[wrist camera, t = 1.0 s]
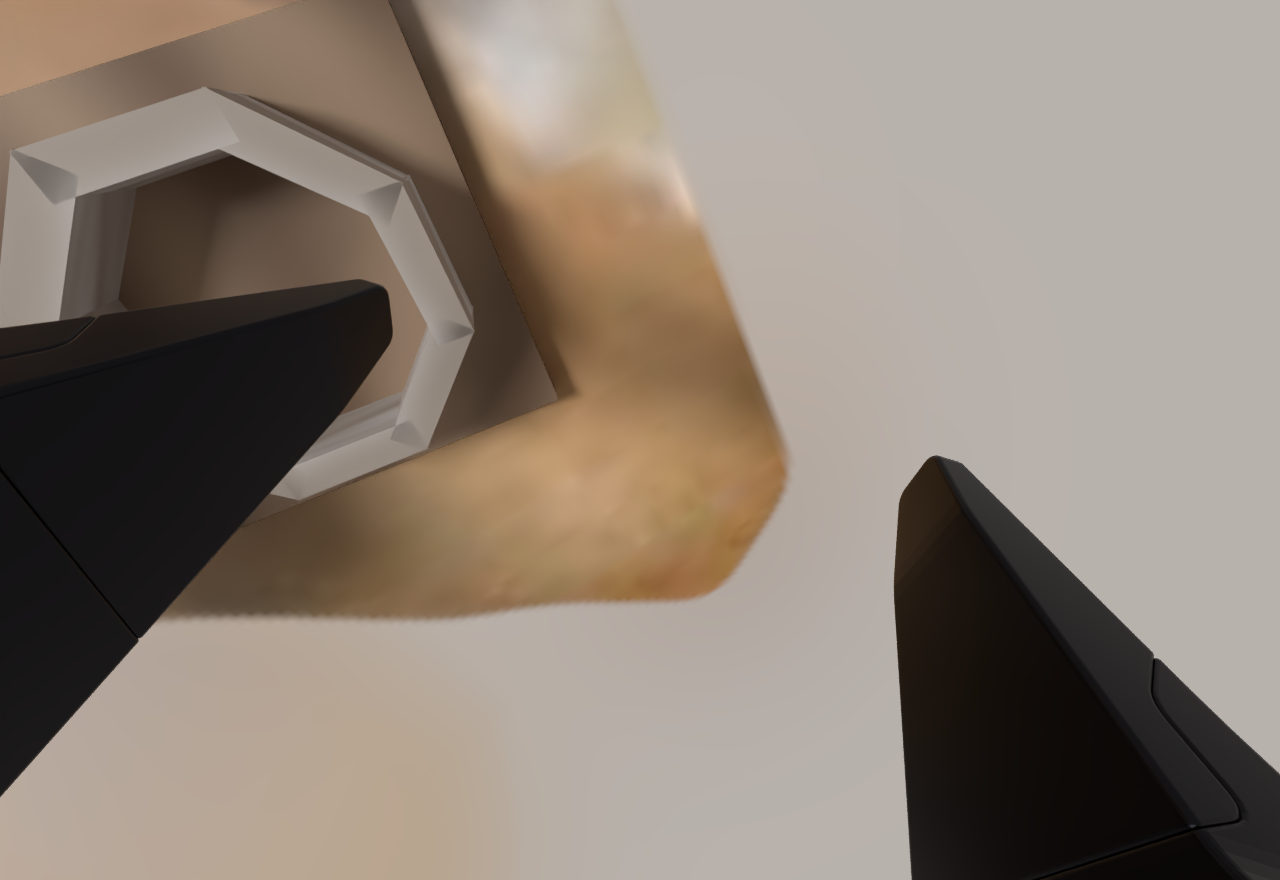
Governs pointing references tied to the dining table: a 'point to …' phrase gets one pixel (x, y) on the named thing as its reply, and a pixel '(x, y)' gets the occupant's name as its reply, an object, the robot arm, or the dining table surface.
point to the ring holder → (273, 215)
